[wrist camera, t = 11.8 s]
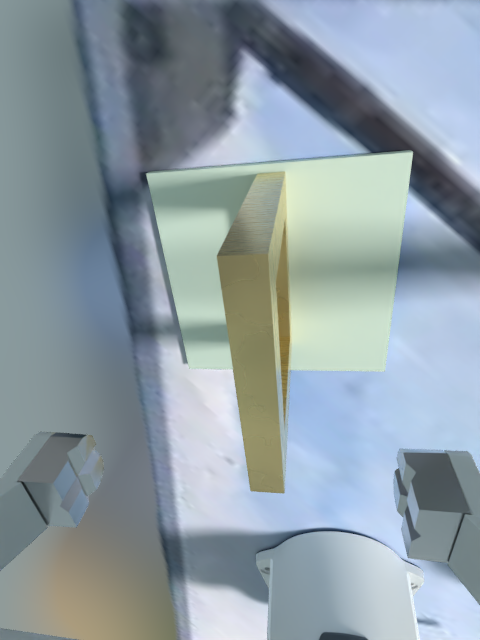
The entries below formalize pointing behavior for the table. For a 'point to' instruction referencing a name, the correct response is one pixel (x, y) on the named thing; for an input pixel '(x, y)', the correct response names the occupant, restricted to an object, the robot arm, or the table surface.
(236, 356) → the yellow picture frame
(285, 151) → the table surface
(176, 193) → the sage mat
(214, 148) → the table surface
